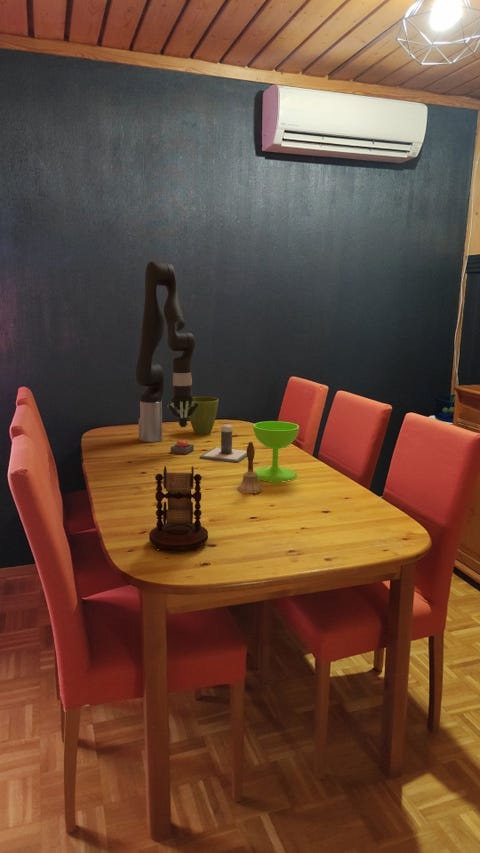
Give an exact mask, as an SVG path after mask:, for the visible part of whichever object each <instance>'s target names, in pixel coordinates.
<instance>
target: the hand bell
mask: <svg viewBox="0 0 480 853" xmlns="http://www.w3.org/2000/svg"><path fill="white" fill-rule="evenodd" d="M246 450H247V457H246V458H247V471H246V472H244V473H243V476H242V477H243V478H242V482H241V484H239V486H237V488H236V489H237V491H238V492H239V491H240V493H242V492H245V493H244V494H247V493H255V492H259V491H262V489H263V487H262V486H261V485H260V483H259V480H258V477H257V474H256V473H255V472H254V458H255V452H256V451H255V446H254V443H253V442H252V441H249V442H248V444H247V448H246ZM262 492H263V491H262ZM255 494H256V493H255Z"/></svg>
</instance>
